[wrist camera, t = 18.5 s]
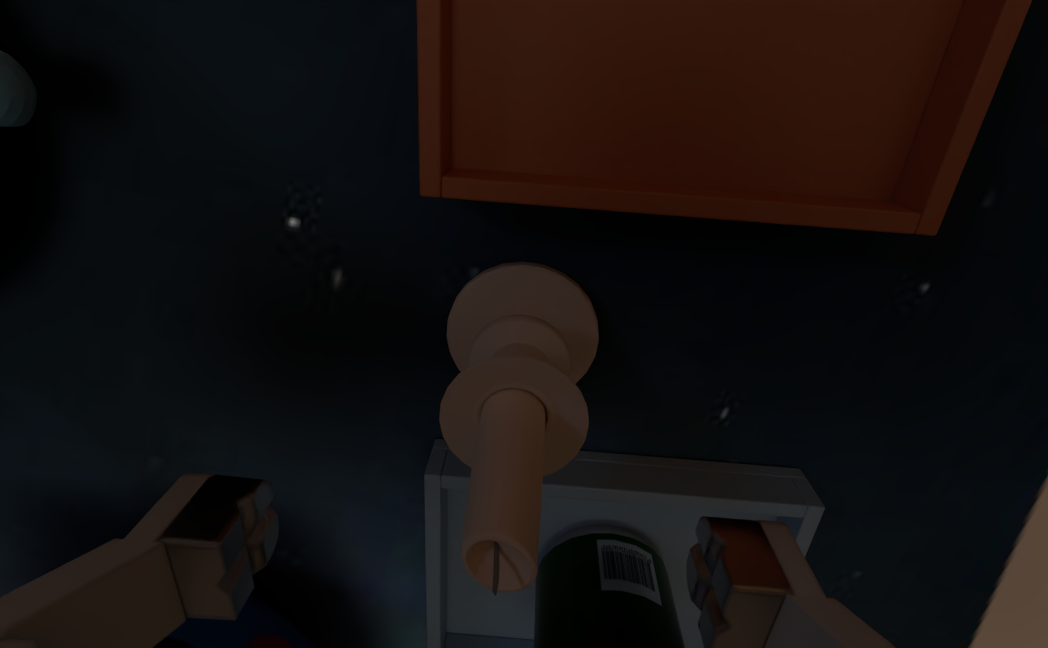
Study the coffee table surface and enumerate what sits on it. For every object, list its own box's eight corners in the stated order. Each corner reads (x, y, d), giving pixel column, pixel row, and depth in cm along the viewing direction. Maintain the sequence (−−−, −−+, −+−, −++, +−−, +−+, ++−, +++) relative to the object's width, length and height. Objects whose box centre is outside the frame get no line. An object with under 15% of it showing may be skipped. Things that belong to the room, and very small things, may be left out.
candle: (452, 393, 20) (365, 681, 10) (444, 258, 18) (324, 470, 8) (593, 396, 20) (634, 692, 10) (602, 261, 17) (665, 481, 8)
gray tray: (800, 467, 21) (826, 507, 19) (732, 652, 25) (747, 699, 24) (435, 437, 21) (423, 474, 19) (436, 627, 26) (427, 671, 24)
